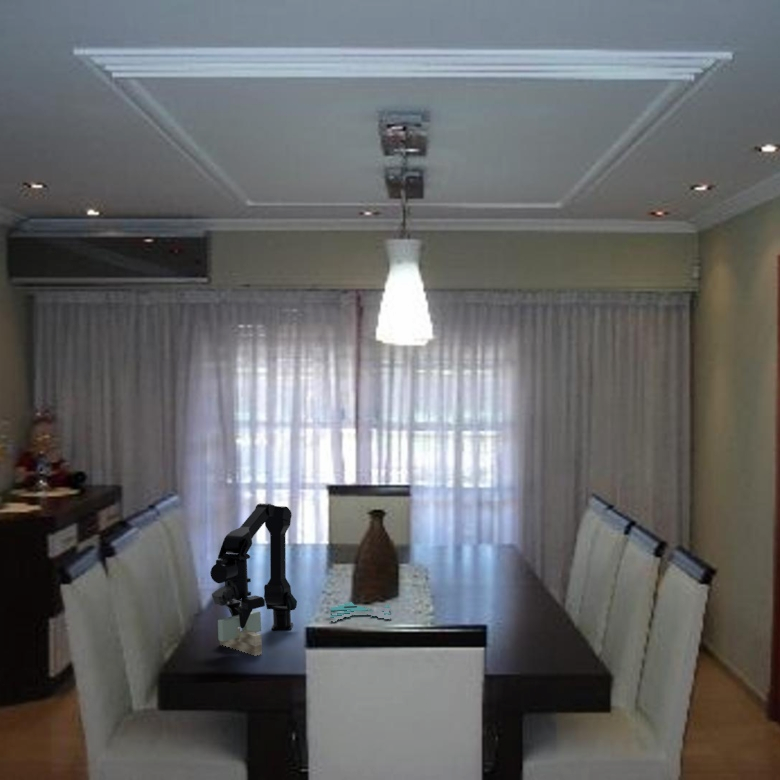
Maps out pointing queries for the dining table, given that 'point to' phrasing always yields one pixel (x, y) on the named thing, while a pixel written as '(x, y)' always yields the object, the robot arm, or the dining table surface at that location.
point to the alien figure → (350, 607)
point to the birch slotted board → (245, 642)
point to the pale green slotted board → (231, 624)
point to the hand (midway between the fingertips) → (239, 627)
